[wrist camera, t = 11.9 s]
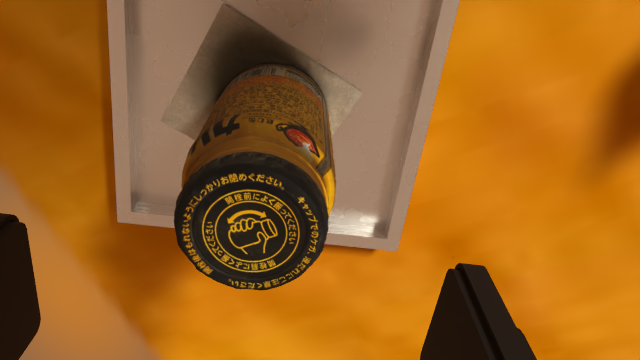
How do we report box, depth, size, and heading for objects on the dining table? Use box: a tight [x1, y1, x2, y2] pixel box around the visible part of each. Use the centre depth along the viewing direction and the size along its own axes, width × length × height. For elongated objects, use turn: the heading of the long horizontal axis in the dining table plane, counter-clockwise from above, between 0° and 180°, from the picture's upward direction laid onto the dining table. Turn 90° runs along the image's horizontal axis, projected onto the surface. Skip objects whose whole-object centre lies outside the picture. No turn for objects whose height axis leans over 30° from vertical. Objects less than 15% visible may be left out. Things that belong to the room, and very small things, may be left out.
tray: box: [107, 0, 460, 251], centre depth 26 cm, size 17×17×2 cm
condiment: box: [161, 4, 362, 290], centre depth 21 cm, size 7×8×12 cm
